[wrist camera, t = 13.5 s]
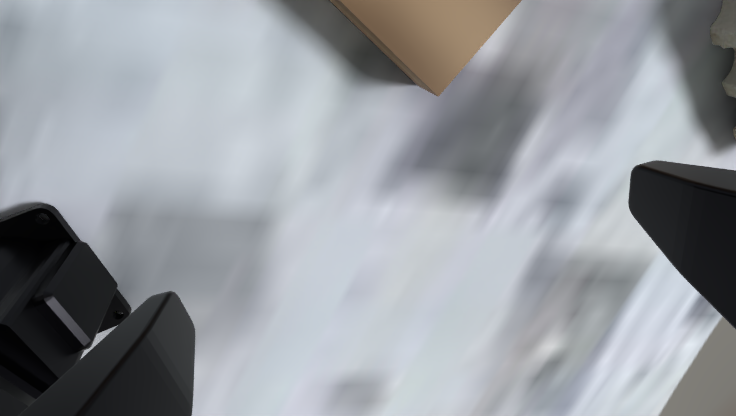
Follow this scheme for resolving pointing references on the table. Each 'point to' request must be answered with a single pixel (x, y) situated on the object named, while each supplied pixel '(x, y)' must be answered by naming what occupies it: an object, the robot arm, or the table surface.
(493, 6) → the socket board
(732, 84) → the egg carton
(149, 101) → the table surface
